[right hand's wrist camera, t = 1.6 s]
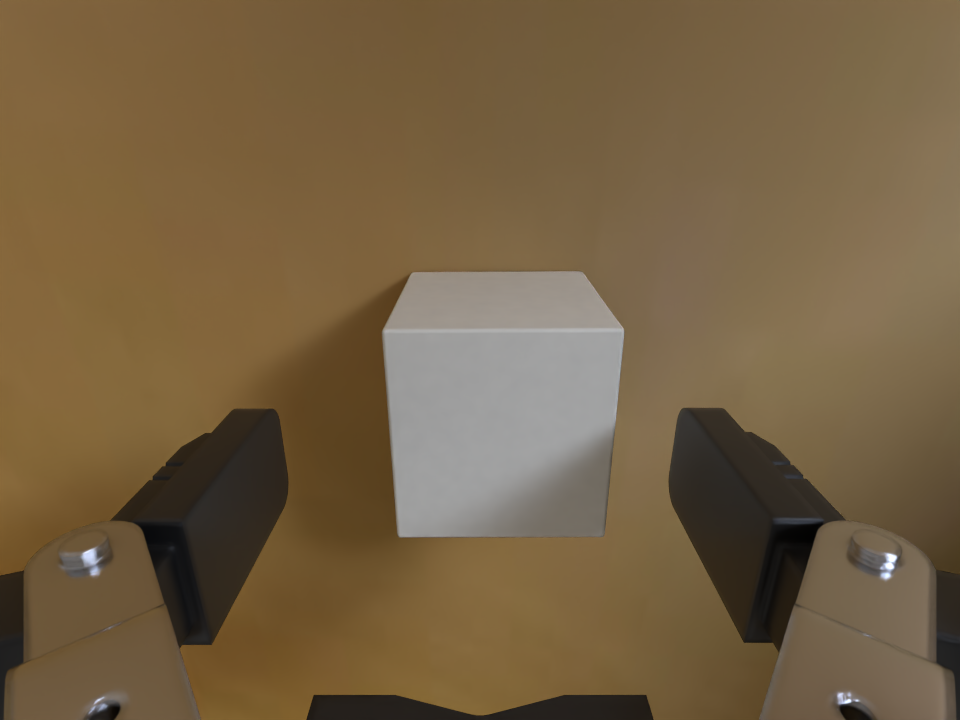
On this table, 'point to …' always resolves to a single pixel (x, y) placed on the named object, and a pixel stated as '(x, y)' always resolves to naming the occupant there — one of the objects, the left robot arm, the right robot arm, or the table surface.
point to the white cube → (501, 404)
